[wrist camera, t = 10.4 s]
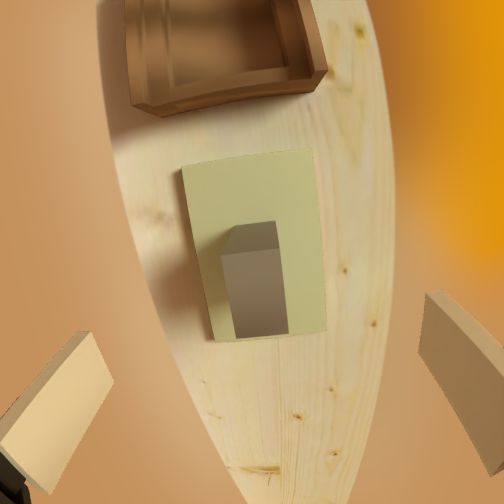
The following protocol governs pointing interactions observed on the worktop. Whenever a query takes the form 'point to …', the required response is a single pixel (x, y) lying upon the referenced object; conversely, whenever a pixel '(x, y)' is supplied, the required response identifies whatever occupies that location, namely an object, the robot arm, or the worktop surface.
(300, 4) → the box
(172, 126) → the worktop surface
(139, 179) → the worktop surface
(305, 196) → the lid
